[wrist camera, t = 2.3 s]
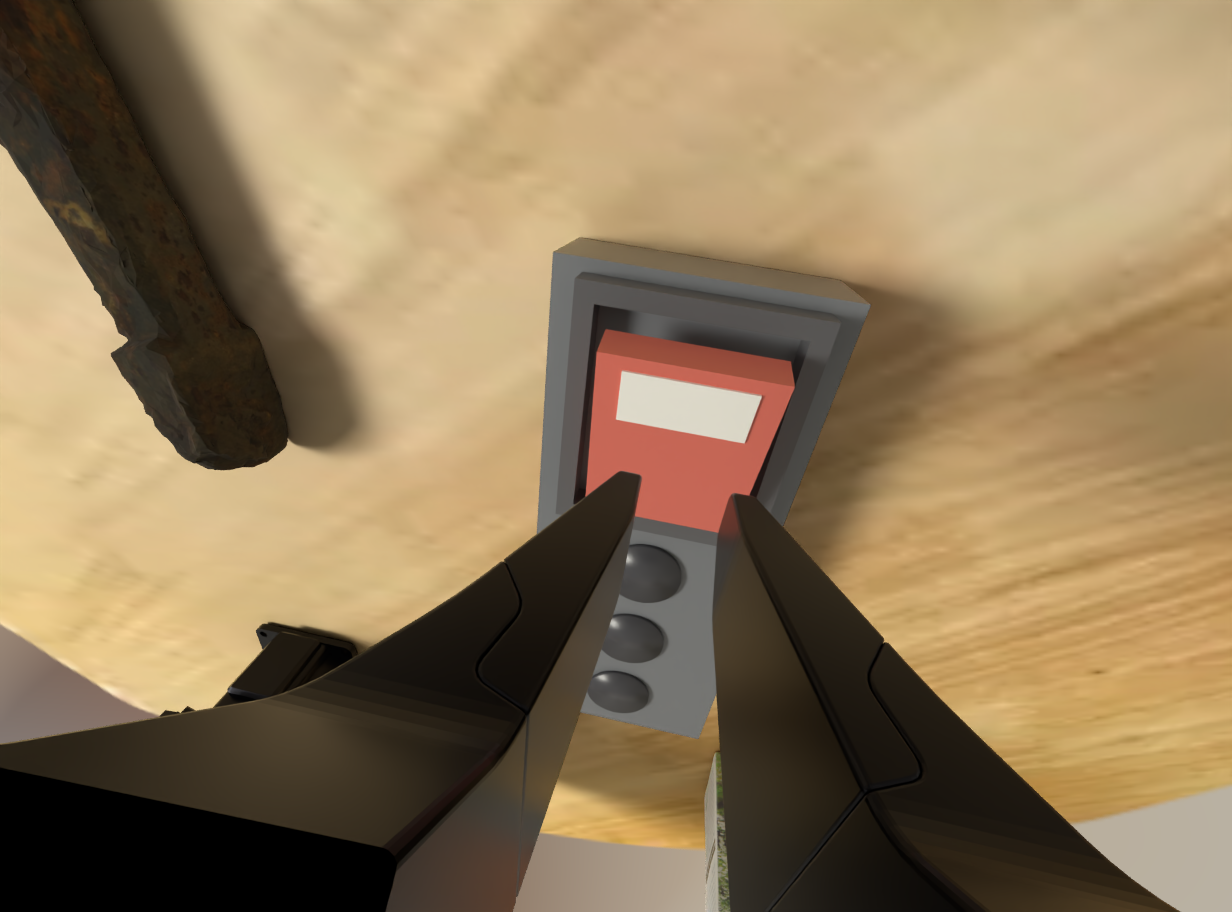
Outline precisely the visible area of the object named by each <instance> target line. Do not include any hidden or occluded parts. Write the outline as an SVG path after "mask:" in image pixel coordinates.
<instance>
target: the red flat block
mask: <svg viewBox="0 0 1232 912" xmlns="http://www.w3.org/2000/svg"><path fill="white" fill-rule="evenodd" d="M794 388H795V384H794V378H793V372H792V366H791V361H785V360H779V359H774V358H768V357H762V356H757V355H751V354H745V353H740V352H734V351H728V350H722V349H717V348H711V347H705V346H700V345H694V344H688V343H682V342H677V341H671V340H665V339H660V338H654V337H648V336H643V335H637V334H631V333H625V332H620V331H614V330H608V329H606V330H605V332H604V335H603V337H602V340H601V342H600V345H599V347H598V350H597V354H596V367H595V380H594V393H593V406H592V419H591V432H590V445H589V458H588V471H587V485H586V496H587V495H588V494H590V493H591V492H592V491H594V490H595V489H596V488H598V487H599V486H600V485H601V484H603V483H604V482H605V481H607V480H608V479H609V478H611V477H612V476H613V475H614V474H616V473H617V472H619V471H626V472H631V473H636V474H640V475H641V476H642V482H641V487H640V492H639V497H638V503H637V508H636V513H635V516H637V517H642V518H647V519H652V520H657V521H662V522H667V523H672V524H677V525H682V526H687V527H692V528H697V529H702V530H707V531H712V532H717V533H718V532H719V528H720V525H721V521H722V518H723V515H724V512H725V509H726V505H727V502H728V499H729V497H730V495H731V494H733V493H739V494H744V495H750V492H751V490H752V488H753V485H754V483H755V481H756V478H757V476H758V473H759V471H760V469H761V466H762V464H763V462H764V459H765V457H766V454H767V452H768V450H769V447H770V445H771V443H772V440H773V438H774V436H775V433H776V431H777V428H778V426H779V424H780V421H781V419H782V417H783V414H784V412H785V409H786V407H787V405H788V402H789V400H790V398H791V395H792V393H793V390H794Z"/></svg>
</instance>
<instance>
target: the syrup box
mask: <svg viewBox="0 0 1232 912" xmlns="http://www.w3.org/2000/svg"><path fill="white" fill-rule="evenodd" d="M704 804H705V846H706V912H730V899H729V883H728V867H727V851H726V835H725V820H724V804H723V788H722V772H721V756H720V753H719V752H716V753H715V755H714V758H713V763H712V767H711V771H710V776H709V780H708V784H707V788H706V792H705V797H704Z"/></svg>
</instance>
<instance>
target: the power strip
mask: <svg viewBox="0 0 1232 912" xmlns="http://www.w3.org/2000/svg"><path fill="white" fill-rule="evenodd" d="M870 306H871V304H870V303H868V302H867V301H866V300H865V299H863V298H862V297H861V296H860V295H858V294H857V293H856V292H855V291H853V290H852V289H851V288H850V287H848V286H847V285H846V284H845V283H843V282H842V281H841V280H836V279H830V278H824V277H818V276H812V275H806V274H800V273H794V272H787V271H781V270H775V269H769V268H763V267H757V266H751V265H745V264H739V263H732V262H726V261H720V260H714V259H708V258H702V257H696V256H690V255H684V254H677V253H671V252H665V251H659V250H653V249H647V248H641V247H635V246H629V245H622V244H616V243H610V242H604V241H598V240H592V239H586V238H580V237H579V238H578V239H576V240H574V241H572V242H570V243H569V244H567V245H565V246H563V247H561V248H559V249H558V250H556V251H554V252H553V263H552V280H551V297H550V315H549V332H548V349H547V367H546V384H545V401H544V419H543V436H542V453H541V471H540V488H539V505H538V523H537V534H538V533H539V532H540V531H542V530H543V529H544V528H545V527H547V526H548V525H549V524H551V523H552V522H553V521H555V520H556V519H557V518H559V517H560V516H561V515H562V514H564V513H565V512H566V511H568V510H569V509H570V508H572V507H573V506H574V505H575V504H577V503H578V502H579V501H581V500H582V499H583V498H585V497H586V485H587V471H588V458H589V445H590V432H591V419H592V406H593V393H594V380H595V367H596V354H597V350H598V347H599V345H600V342H601V340H602V337H603V335H604V332H605V330H606V329H608V330H614V331H620V332H625V333H631V334H637V335H643V336H648V337H654V338H660V339H665V340H671V341H677V342H682V343H688V344H694V345H700V346H705V347H711V348H717V349H722V350H728V351H734V352H740V353H745V354H751V355H757V356H762V357H768V358H774V359H779V360H785V361H791V366H792V372H793V378H794V384H795V388H794V390H793V393H792V395H791V398H790V400H789V402H788V405H787V407H786V409H785V412H784V414H783V417H782V419H781V421H780V424H779V426H778V428H777V431H776V433H775V436H774V438H773V440H772V443H771V445H770V447H769V450H768V452H767V454H766V457H765V459H764V462H763V464H762V466H761V469H760V471H759V473H758V476H757V478H756V481H755V483H754V485H753V488H752V490H751V492H750V495H749V496H754V497H756V498H757V499H758V500H759V501H760V502H761V504H762V505H763V506H764V507H765V508H766V509H767V510H768V511H769V512H770V513H771V515H772V516H773V517H774V518H775V519H776V520H777V521H778V522H779V523H780V524H781V526H782V527H783V525H784V522H785V520H786V517H787V515H788V512H789V510H790V507H791V505H792V502H793V500H794V497H795V495H796V492H797V490H798V487H799V485H800V482H801V480H802V477H803V475H804V472H805V470H806V467H807V465H808V462H809V460H810V457H811V455H812V452H813V450H814V447H815V445H816V442H817V440H818V437H819V434H820V432H821V429H822V427H823V424H824V422H825V419H826V417H827V414H828V412H829V409H830V407H831V404H832V402H833V399H834V397H835V394H836V392H837V389H838V387H839V384H840V382H841V379H842V377H843V374H844V372H845V369H846V367H847V364H848V362H849V359H850V357H851V354H852V352H853V349H854V347H855V344H856V342H857V339H858V336H859V334H860V331H861V329H862V326H863V324H864V321H865V319H866V316H867V314H868V311H869V309H870ZM717 537H718V533H717V532H712V531H707V530H702V529H697V528H692V527H687V526H682V525H677V524H672V523H667V522H662V521H657V520H652V519H647V518H642V517H637V516H635V518H634V524H633V529H632V534H631V539H630V544H629V549H628V554H627V559H626V565H625V570H624V575H623V580H622V585H621V589H620V594H619V598H618V601H617V604H616V608H615V611H614V614H613V617H612V620H611V623H610V626H609V628H608V631H607V634H606V637H605V640H604V643H603V646H602V649H601V652H600V655H599V658H598V661H597V664H596V667H595V670H594V673H593V676H592V679H591V682H590V685H589V687H588V690H587V693H586V696H585V699H584V702H583V705H582V708H581V711H580V712H582V713H586V714H590V715H595V716H599V717H603V718H608V719H612V720H617V721H621V722H625V723H630V724H634V725H639V726H643V727H647V728H652V729H656V730H661V731H665V732H669V733H674V734H678V735H682V736H687V737H691V738H696V739H699V736H700V734H701V731H702V728H703V726H704V723H705V721H706V718H707V716H708V713H709V711H710V708H711V706H712V703H713V701H714V698H715V696H716V677H715V661H714V646H713V629H712V608H713V591H714V576H715V561H716V546H717Z"/></svg>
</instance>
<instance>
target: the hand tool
mask: <svg viewBox="0 0 1232 912" xmlns="http://www.w3.org/2000/svg"><path fill="white" fill-rule="evenodd" d="M0 144H1V145H2V146H3V147H4V148H6V149H7V151H8V152H9V154H10V156H11V158H12V159H13V161H14V163H15V165H16V166H17V168H18V169H19V171H20V172H21V173H22V174H23V176H24V177H25V178H26V180H27V181H28V183H29V185H30V187H31V188H32V190H33V191H34V193H35V195H36V196H37V198H38V200H39V201H40V203H41V204H42V206H43V207H44V209H45V210H46V211H47V213H48V214H49V216H50V217H51V218H52V220H53V221H54V223H55V225H56V226H57V228H58V229H59V231H60V232H61V234H62V235H63V237H64V238H65V240H66V242H67V244H68V246H69V247H70V249H71V250H72V252H73V254H74V255H75V257H76V259H77V260H78V262H79V264H80V265H81V267H82V268H83V270H84V272H85V273H86V275H87V276H88V278H89V279H90V281H91V282H92V284H93V286H94V290H95V291H96V292H97V293H98V294H99V295H100V296H101V301H102V306H105V308H106V309H107V310H108V311H109V313H110V314H111V315H112V317H113V318H114V321H115V324H116V327H117V330H118V333H119V334H121V335H123V336H125V337H127V339H128V341H127V342H126V343H125V344H124V345H123V346H122V347H120V348H118V349H117V350H116V351H114V352H112V353H111V357H112V358H113V360H114V362H115V363H116V365H117V366H118V368H119V370H120V372H121V374H122V376H123V377H124V378H125V379H126V381H127V382H128V383H129V384H130V385H131V387H132V388H133V389H134V390H135V392H136V394H137V396H138V398H139V400H140V401H141V402H142V403H143V405H144V409H145V412H146V414H148V415H149V416H151V417H152V418H153V421H154V424H155V427H156V428H157V429H158V430H159V431H160V432H161V434H162V435H163V436H164V437H166V438H167V439H168V440H169V441H170V442H171V443H172V444H173V445H174V447H175V449H176V451H177V452H178V453H179V454H180V455H181V456H182V457H183V458H185V459H186V460H188V461H190V462H192V463H197V464H199V465H201V466H203V467H205V468H207V469H214V470H232V469H235V468H241V467H255V466H257V465H259V464H262V463H264V462H268V461H269V460H270V459H272V458H273V457H274V456H276V455H277V454H278V453H280V452H281V451H282V450H283V449H284V448H285V447H286V445H287V442H288V441H287V437H288V431H287V427H286V422H285V418H284V414H283V410H282V406H281V399H280V395H279V394H278V392H277V390H276V386H275V383H274V381H273V379H272V376H271V374H270V371H269V369H268V366H267V363H266V359H265V356H264V353H263V350H262V346H261V343H260V340H259V338H258V336H257V334H256V333H255V331H254V330H253V329H252V328H250V327H248V326H245V325H243V324H240V323H238V322H237V321H236V319H235V318H234V316H233V315H232V313H231V312H230V310H229V309H228V308H227V306H226V305H225V303H224V301H223V300H222V298H221V296H220V294H219V292H218V290H217V288H216V286H215V285H214V283H213V281H212V279H211V276H210V274H209V271H208V269H207V266H206V264H205V262H204V259H203V257H202V256H201V254H200V252H199V250H198V248H197V246H196V244H195V242H194V240H193V237H192V235H191V232H190V230H189V227H188V223H187V220H186V218H185V217H184V215H183V214H182V213H181V211H180V210H179V209H178V207H177V206H176V204H175V202H174V201H173V199H172V198H171V196H170V194H169V192H168V190H167V188H166V187H165V185H164V183H163V181H162V179H161V177H160V175H159V173H158V171H157V169H156V167H155V165H154V163H153V161H152V159H151V157H150V155H149V153H148V151H147V149H146V147H145V145H144V143H143V141H142V139H141V137H140V135H139V133H138V131H137V129H136V126H135V124H134V121H133V119H132V117H131V115H130V113H129V111H128V109H127V107H126V105H125V103H124V102H123V100H122V98H121V96H120V95H119V93H118V91H117V89H116V86H115V84H114V81H113V79H112V76H111V74H110V72H109V71H108V69H107V67H106V66H105V64H104V62H103V61H102V59H101V57H100V56H99V54H98V52H97V50H96V48H95V46H94V44H93V42H92V40H91V38H90V36H89V34H88V31H87V29H86V27H85V25H84V24H83V22H82V20H81V18H80V15H79V13H78V11H77V9H76V7H75V5H74V4H73V2H72V0H0Z"/></svg>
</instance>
